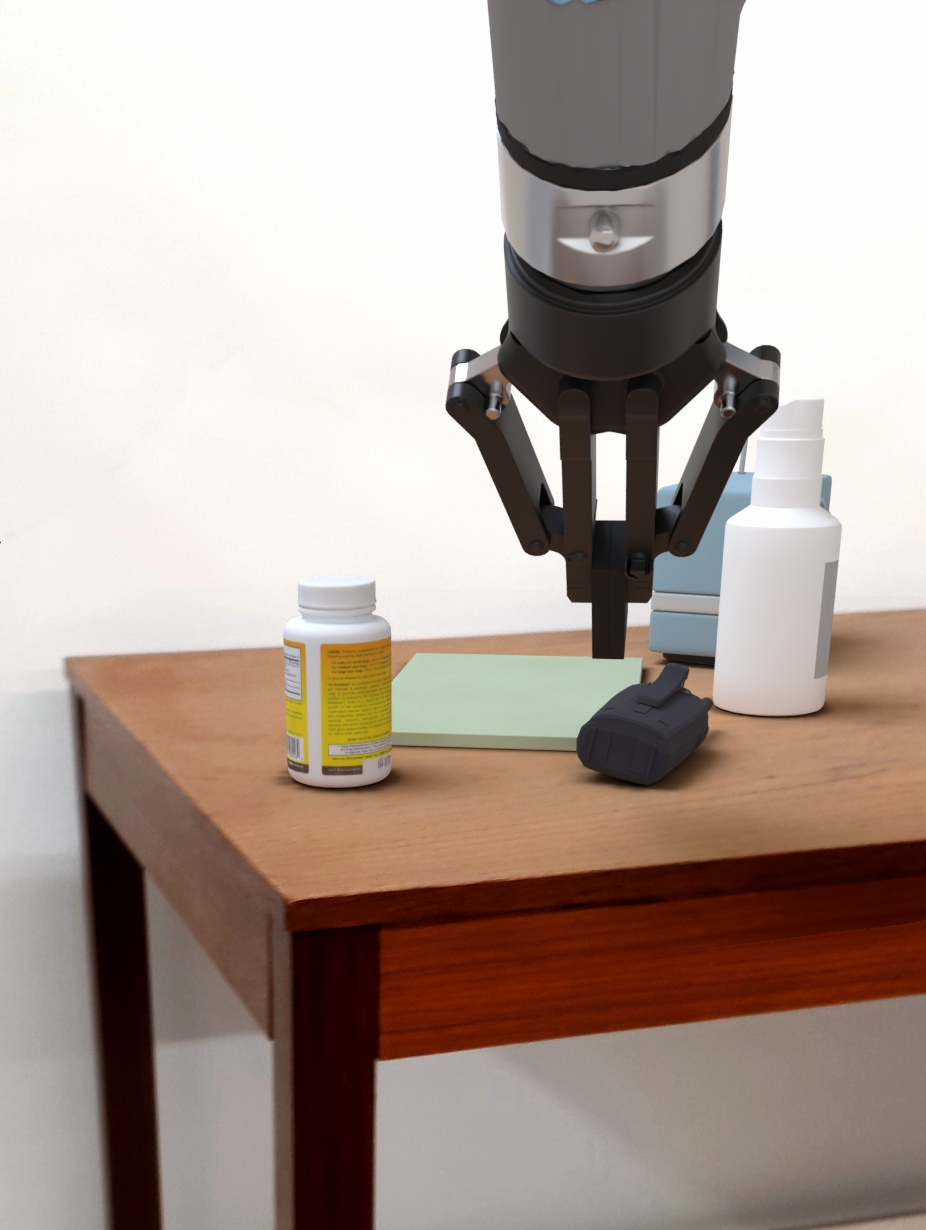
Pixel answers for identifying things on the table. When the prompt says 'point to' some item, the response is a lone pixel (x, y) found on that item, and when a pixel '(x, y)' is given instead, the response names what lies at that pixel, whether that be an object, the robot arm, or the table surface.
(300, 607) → the supplement bottle
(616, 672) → the mat
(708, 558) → the radio
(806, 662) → the spray bottle
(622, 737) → the two-way radio
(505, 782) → the table surface
